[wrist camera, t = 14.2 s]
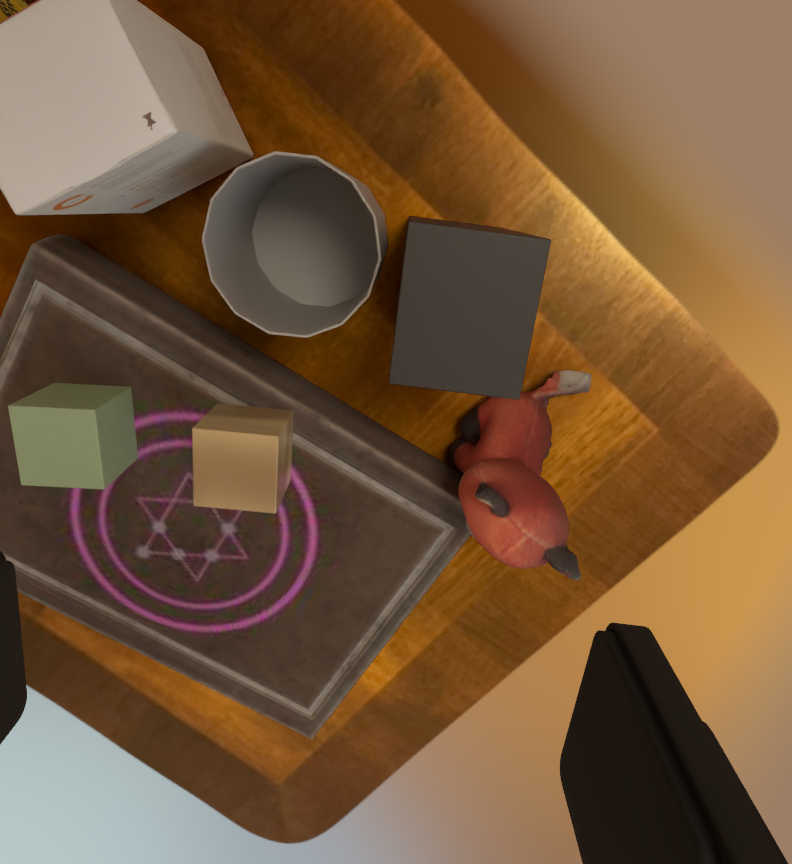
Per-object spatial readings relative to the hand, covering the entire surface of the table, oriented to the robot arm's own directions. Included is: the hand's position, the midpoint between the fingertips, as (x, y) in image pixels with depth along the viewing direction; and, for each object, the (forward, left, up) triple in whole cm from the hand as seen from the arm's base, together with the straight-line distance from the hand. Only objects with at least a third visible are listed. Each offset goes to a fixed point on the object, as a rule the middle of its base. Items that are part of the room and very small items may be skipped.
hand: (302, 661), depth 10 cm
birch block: (+8, -7, -27) cm, 29 cm away
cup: (-4, -4, -32) cm, 33 cm away
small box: (-9, -14, -32) cm, 36 cm away
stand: (-3, +4, -32) cm, 33 cm away
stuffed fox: (+6, +10, -32) cm, 35 cm away
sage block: (+7, -16, -27) cm, 33 cm away
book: (+14, -10, -32) cm, 37 cm away
